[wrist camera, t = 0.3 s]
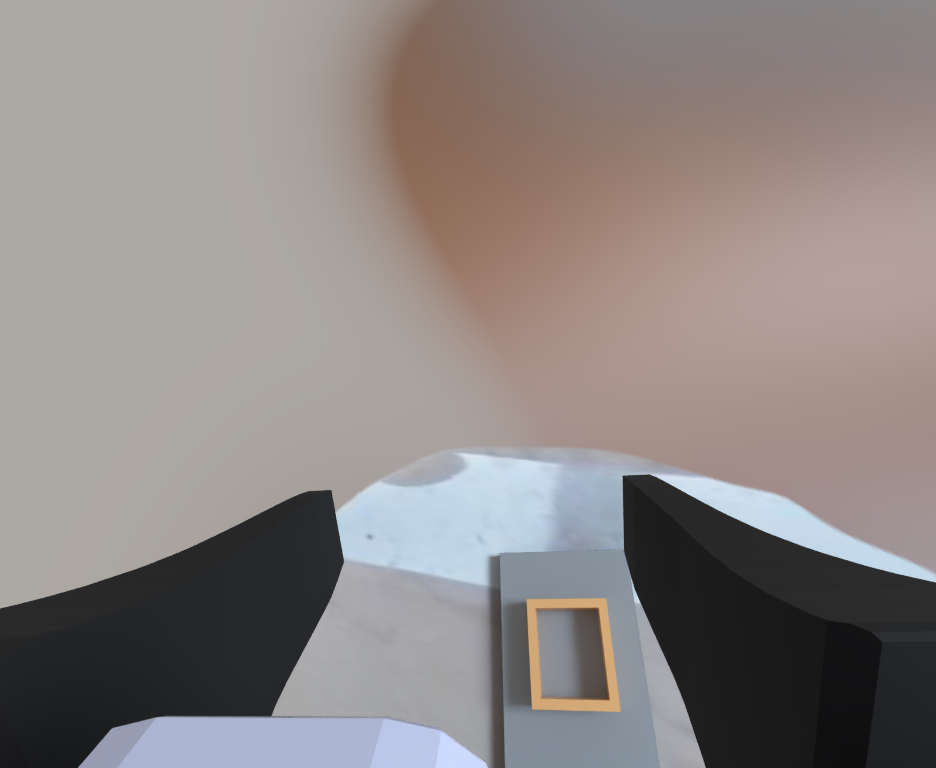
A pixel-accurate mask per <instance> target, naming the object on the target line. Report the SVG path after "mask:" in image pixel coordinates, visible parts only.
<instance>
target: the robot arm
mask: <svg viewBox="0 0 936 768" xmlns="http://www.w3.org/2000/svg"><path fill="white" fill-rule="evenodd" d="M623 518H624V554H625V557H626V561H627V564H628V568H629V571H630V575H631V578H632V581H633V584H634V588H635V591H636V593H637V595H638V598H639V600H640V602H641V605H642V607H643V609H644V611H645V614H646V616H647V618H648V620H649V623H650V625H651V627H652V629H653V632H654V634H655V636H656V638H657V640H658V643H659V645H660V647H661V649H662V652H663V654H664V656H665V658H666V661H667V663H668V665H669V667H670V669H671V672H672V674H673V676H674V678H675V681H676V683H677V686H678V688H679V691H680V693H681V696H682V698H683V701H684V703H685V706H686V709H687V712H688V715H689V718H690V721H691V724H692V727H693V730H694V733H695V736H696V739H697V742H698V745H699V748H700V751H701V754H702V757H703V760H704V763H705V766H706V768H936V583H935V582H930V581H926V580H922V579H917V578H913V577H908V576H904V575H900V574H895V573H891V572H887V571H884V570H880V569H876V568H872V567H868V566H864V565H861V564H858V563H854V562H851V561H847V560H844V559H841V558H837V557H834V556H831V555H827V554H824V553H821V552H818V551H815V550H812V549H809V548H806V547H803V546H800V545H798V544H795V543H792V542H790V541H787V540H784V539H782V538H779V537H777V536H774V535H771V534H769V533H766V532H764V531H762V530H759V529H757V528H754V527H752V526H750V525H748V524H746V523H744V522H741V521H739V520H737V519H735V518H733V517H731V516H728V515H726V514H724V513H722V512H720V511H718V510H716V509H714V508H712V507H711V506H709V505H707V504H705V503H703V502H701V501H699V500H697V499H696V498H694V497H692V496H690V495H688V494H686V493H685V492H683V491H681V490H679V489H677V488H676V487H674V486H672V485H670V484H668V483H666V482H665V481H663V480H661V479H659V478H657V477H655V476H652V475H649V474H648V475H628V476H623ZM343 563H344V559H343V553H342V548H341V542H340V536H339V531H338V525H337V519H336V514H335V508H334V502H333V497H332V491H331V490H325V491H308V492H305V493H302V494H299V495H297V496H295V497H292V498H290V499H288V500H286V501H284V502H282V503H280V504H278V505H276V506H274V507H272V508H270V509H268V510H266V511H264V512H262V513H260V514H258V515H256V516H254V517H252V518H250V519H248V520H246V521H244V522H243V523H241V524H239V525H237V526H235V527H232V528H230V529H228V530H226V531H224V532H222V533H220V534H218V535H216V536H214V537H212V538H210V539H207V540H205V541H203V542H201V543H199V544H197V545H195V546H193V547H190V548H188V549H186V550H183V551H181V552H179V553H176V554H174V555H172V556H169V557H167V558H164V559H161V560H159V561H156V562H154V563H151V564H149V565H146V566H143V567H141V568H138V569H135V570H132V571H129V572H126V573H123V574H120V575H117V576H114V577H111V578H108V579H105V580H102V581H99V582H97V583H93V584H90V585H87V586H84V587H81V588H77V589H74V590H70V591H66V592H63V593H59V594H56V595H52V596H49V597H45V598H41V599H37V600H33V601H29V602H25V603H22V604H18V605H14V606H9V607H5V608H1V609H0V768H488V767H487V765H486V763H485V762H483V761H482V760H481V759H480V758H479V757H478V756H476V755H475V754H473V753H472V752H471V751H469V750H468V749H467V748H465V747H464V746H463V745H461V744H460V743H459V742H457V741H456V740H454V739H453V738H452V737H450V736H449V735H448V734H446V733H445V732H444V731H442V730H441V729H439V728H438V727H433V726H428V725H424V724H419V723H415V722H410V721H405V720H401V719H396V718H391V717H310V716H271V715H272V713H273V710H274V708H275V706H276V703H277V701H278V699H279V697H280V695H281V693H282V691H283V689H284V687H285V684H286V682H287V680H288V679H289V677H290V675H291V673H292V671H293V669H294V667H295V665H296V663H297V662H298V660H299V658H300V656H301V654H302V652H303V650H304V648H305V647H306V645H307V643H308V641H309V639H310V637H311V635H312V633H313V632H314V630H315V628H316V626H317V624H318V622H319V620H320V618H321V616H322V614H323V613H324V611H325V609H326V607H327V605H328V603H329V601H330V599H331V597H332V594H333V591H334V589H335V586H336V583H337V581H338V578H339V575H340V572H341V569H342V566H343Z"/></svg>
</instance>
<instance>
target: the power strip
mask: <svg viewBox="0 0 936 768" xmlns="http://www.w3.org/2000/svg"><path fill="white" fill-rule="evenodd" d="M500 584H501V624H502V665H503V705H504V746H505V768H660V764H659V758H658V751H657V745H656V738H655V732H654V726H653V719H652V713H651V706H650V700H649V693H648V687H647V681H646V674H645V668H644V661H643V655H642V649H641V642H640V636H639V629H638V623H637V617H636V610H635V604H634V597H633V591H632V584H631V578H630V572H629V568H628V564H627V561H626V557H625V554H624V550H601V551H563V552H525V553H500Z"/></svg>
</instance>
